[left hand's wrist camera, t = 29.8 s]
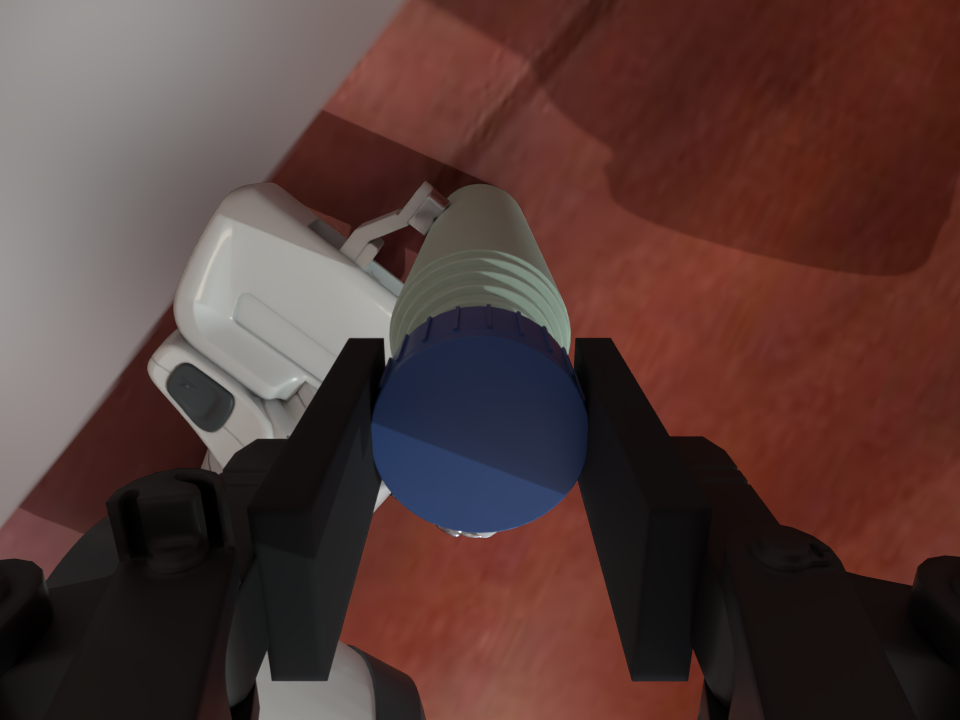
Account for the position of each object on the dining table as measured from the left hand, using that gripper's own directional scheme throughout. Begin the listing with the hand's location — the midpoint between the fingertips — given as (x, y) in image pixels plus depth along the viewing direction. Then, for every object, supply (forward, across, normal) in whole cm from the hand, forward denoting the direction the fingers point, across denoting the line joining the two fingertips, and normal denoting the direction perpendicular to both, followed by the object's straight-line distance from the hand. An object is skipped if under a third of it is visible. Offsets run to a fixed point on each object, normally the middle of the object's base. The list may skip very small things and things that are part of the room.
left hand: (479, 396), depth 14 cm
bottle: (+23, 0, 0) cm, 23 cm away
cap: (-2, 0, 0) cm, 2 cm away
